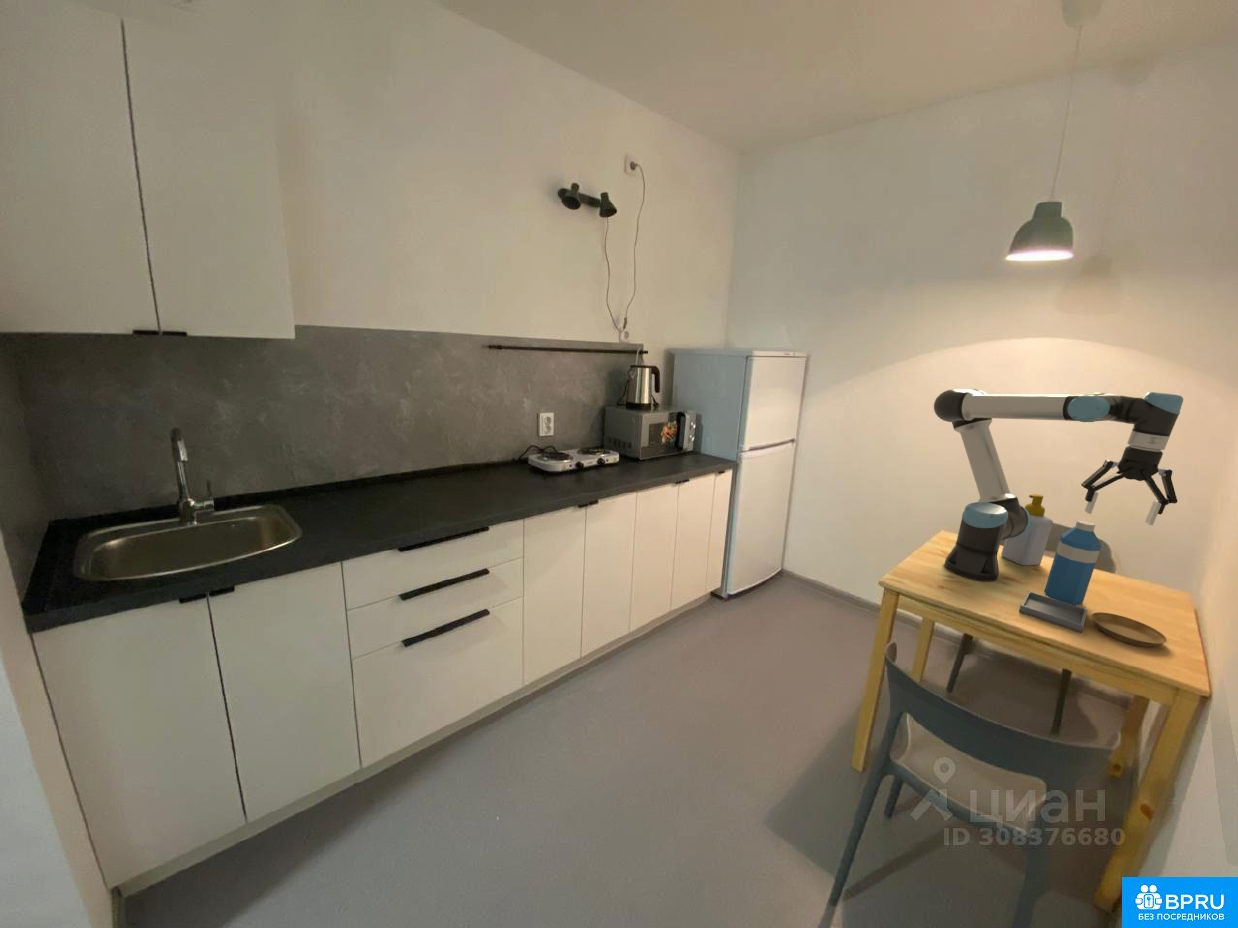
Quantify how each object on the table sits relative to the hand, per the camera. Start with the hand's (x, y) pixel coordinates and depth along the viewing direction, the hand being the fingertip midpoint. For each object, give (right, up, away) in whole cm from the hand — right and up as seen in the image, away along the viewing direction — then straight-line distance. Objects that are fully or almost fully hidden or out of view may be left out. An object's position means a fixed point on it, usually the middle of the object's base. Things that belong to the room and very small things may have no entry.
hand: (1117, 517), depth 146 cm
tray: (-21, -28, -2) cm, 35 cm away
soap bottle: (0, -20, +36) cm, 41 cm away
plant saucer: (-8, -31, -10) cm, 34 cm away
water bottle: (-8, -26, +9) cm, 29 cm away
